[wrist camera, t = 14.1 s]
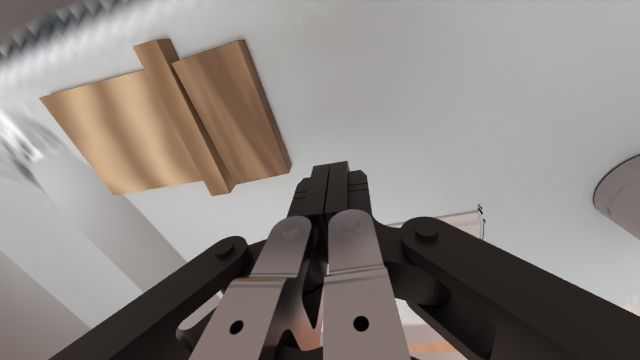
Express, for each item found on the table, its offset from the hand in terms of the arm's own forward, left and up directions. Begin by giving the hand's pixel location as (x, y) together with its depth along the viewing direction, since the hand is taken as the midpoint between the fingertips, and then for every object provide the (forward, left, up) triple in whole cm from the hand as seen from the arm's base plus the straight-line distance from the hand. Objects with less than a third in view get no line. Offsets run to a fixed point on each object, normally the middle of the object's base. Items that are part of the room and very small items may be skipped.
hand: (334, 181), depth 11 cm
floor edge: (+23, 0, -17) cm, 29 cm away
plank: (+7, 0, -17) cm, 18 cm away
